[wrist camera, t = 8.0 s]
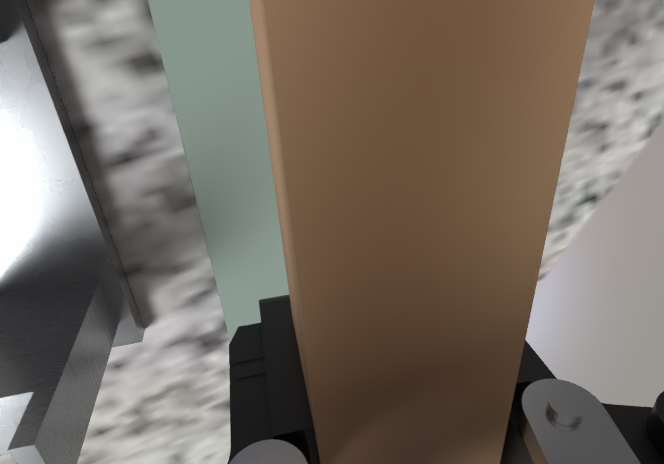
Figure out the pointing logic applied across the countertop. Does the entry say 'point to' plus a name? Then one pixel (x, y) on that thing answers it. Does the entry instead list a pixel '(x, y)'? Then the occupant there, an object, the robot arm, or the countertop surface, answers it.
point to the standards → (50, 263)
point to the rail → (415, 208)
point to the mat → (225, 146)
